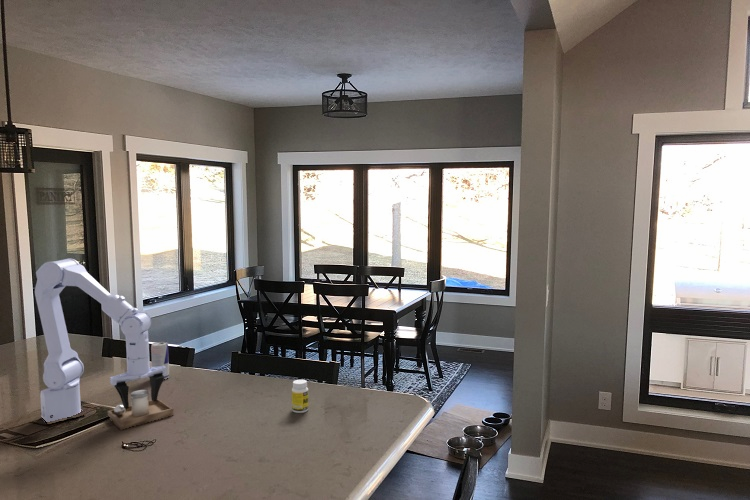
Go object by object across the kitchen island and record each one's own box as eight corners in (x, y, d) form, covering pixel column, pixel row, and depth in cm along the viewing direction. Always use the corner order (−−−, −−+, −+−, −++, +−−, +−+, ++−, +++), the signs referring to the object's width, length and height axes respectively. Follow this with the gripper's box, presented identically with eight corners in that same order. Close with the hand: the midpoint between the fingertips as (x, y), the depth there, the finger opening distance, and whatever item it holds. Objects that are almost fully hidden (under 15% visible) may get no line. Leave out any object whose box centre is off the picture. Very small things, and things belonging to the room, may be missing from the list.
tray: (121, 430, 142) (120, 422, 142) (107, 418, 150) (107, 411, 150) (173, 415, 151) (173, 408, 151) (158, 404, 159) (158, 398, 159)
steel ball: (116, 418, 148) (115, 407, 147) (112, 415, 150) (112, 404, 149) (127, 415, 150) (127, 404, 149) (124, 412, 152) (123, 402, 152)
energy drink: (172, 375, 186) (170, 341, 185) (164, 381, 180) (163, 346, 179) (157, 375, 186) (155, 341, 185) (149, 380, 181) (147, 345, 180)
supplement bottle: (305, 413, 152) (304, 384, 151) (289, 412, 153) (289, 383, 152) (310, 407, 157) (310, 379, 156) (295, 406, 158) (294, 378, 157)
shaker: (134, 418, 148) (133, 396, 147) (129, 413, 151) (128, 392, 150) (151, 413, 151) (151, 392, 150) (145, 409, 154) (144, 388, 154)
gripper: (115, 365, 141) (117, 415, 142) (169, 354, 151) (171, 401, 152) (106, 359, 146) (109, 408, 148) (160, 349, 156) (162, 394, 157)
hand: (140, 404), depth 150 cm, fingers open, 7 cm apart
